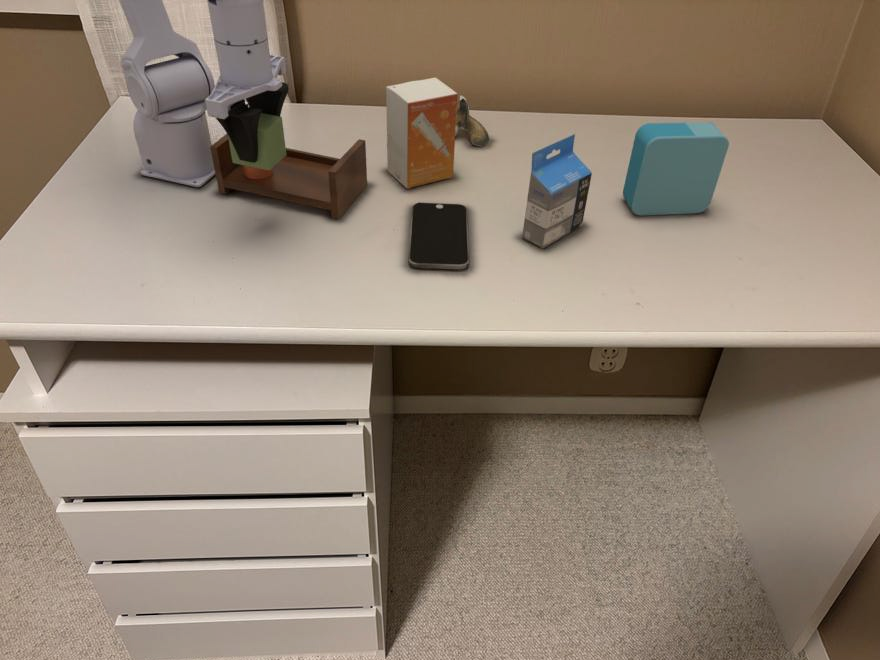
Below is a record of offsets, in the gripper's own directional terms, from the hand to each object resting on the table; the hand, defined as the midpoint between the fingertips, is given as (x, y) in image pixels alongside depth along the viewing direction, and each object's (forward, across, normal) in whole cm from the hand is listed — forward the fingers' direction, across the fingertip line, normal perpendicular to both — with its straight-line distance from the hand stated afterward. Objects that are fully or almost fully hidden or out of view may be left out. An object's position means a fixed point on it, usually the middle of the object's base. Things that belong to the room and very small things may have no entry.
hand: (258, 151), depth 89 cm
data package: (+11, +25, -50) cm, 57 cm away
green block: (+1, 0, 0) cm, 1 cm away
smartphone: (+10, +5, -22) cm, 25 cm away
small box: (+11, +20, -14) cm, 27 cm away
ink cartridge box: (+11, +12, -36) cm, 39 cm away
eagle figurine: (+11, +35, -16) cm, 40 cm away
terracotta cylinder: (+8, +8, +6) cm, 13 cm away
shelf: (+10, +10, +1) cm, 14 cm away
